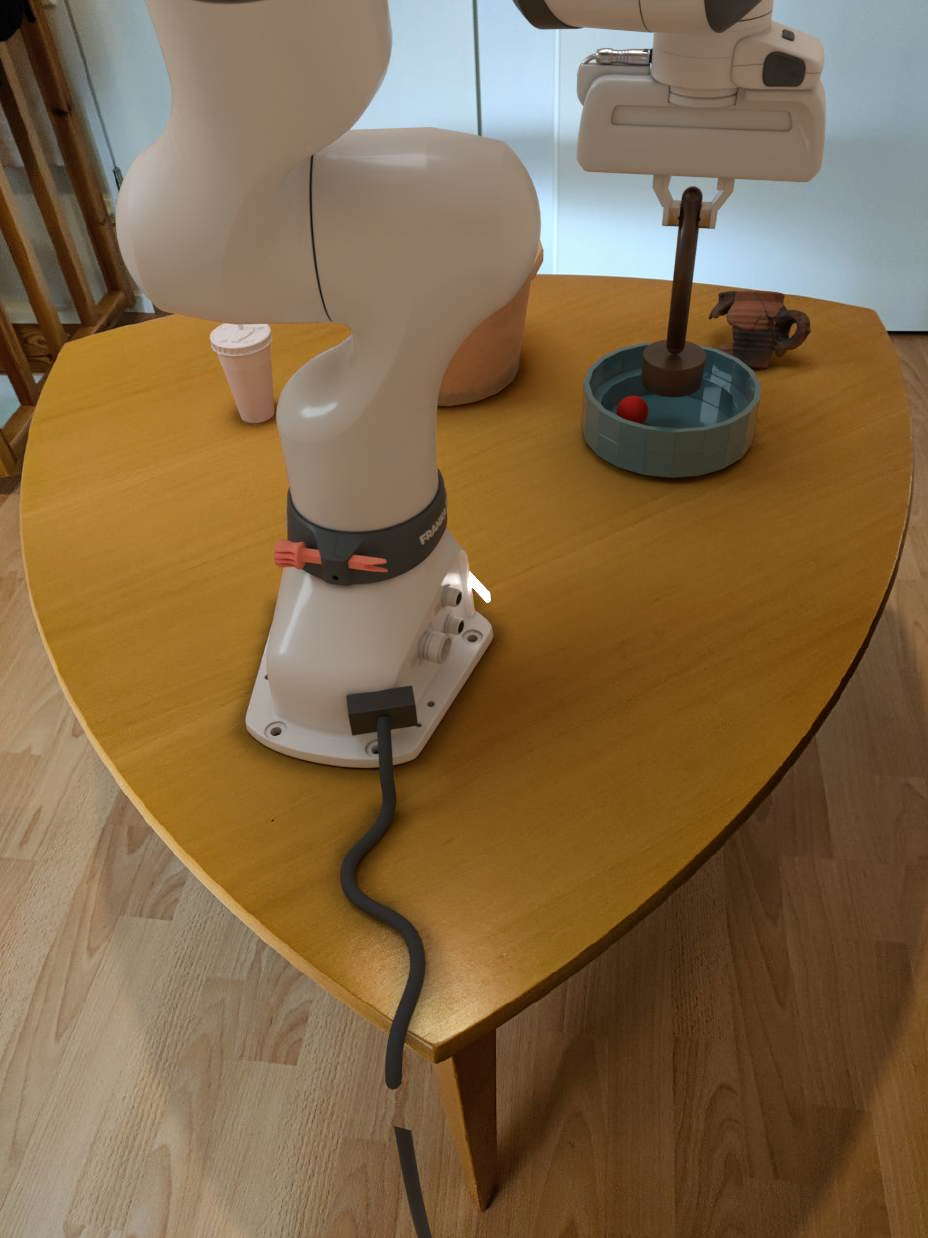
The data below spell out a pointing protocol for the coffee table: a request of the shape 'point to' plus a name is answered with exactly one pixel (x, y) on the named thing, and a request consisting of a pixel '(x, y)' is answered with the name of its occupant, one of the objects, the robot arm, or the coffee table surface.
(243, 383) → the smoothie
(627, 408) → the cherry tomato
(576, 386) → the coffee table surface
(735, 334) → the pottery mug
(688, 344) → the wooden plunger
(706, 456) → the bowl
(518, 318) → the pottery
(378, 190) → the robot arm
